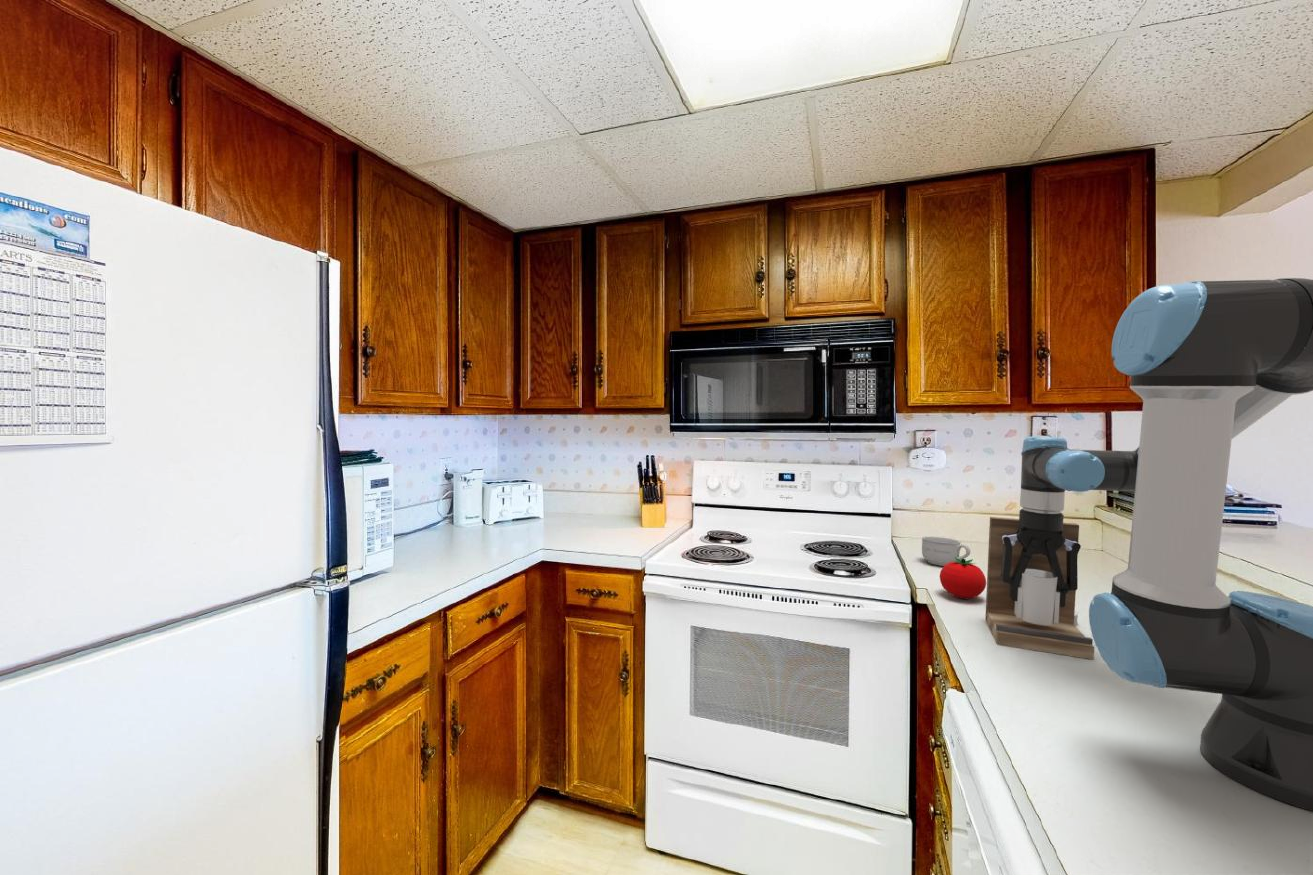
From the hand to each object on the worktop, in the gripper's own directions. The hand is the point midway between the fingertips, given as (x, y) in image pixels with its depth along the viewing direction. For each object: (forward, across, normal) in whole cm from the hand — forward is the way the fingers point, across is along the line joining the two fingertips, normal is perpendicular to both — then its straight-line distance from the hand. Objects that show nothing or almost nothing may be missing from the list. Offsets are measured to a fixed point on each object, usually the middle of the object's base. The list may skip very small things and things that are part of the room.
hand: (1035, 618), depth 112 cm
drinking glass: (+1, 0, 0) cm, 1 cm away
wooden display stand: (+4, 0, 0) cm, 4 cm away
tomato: (+5, +11, -22) cm, 25 cm away
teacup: (+4, +12, -53) cm, 55 cm away
